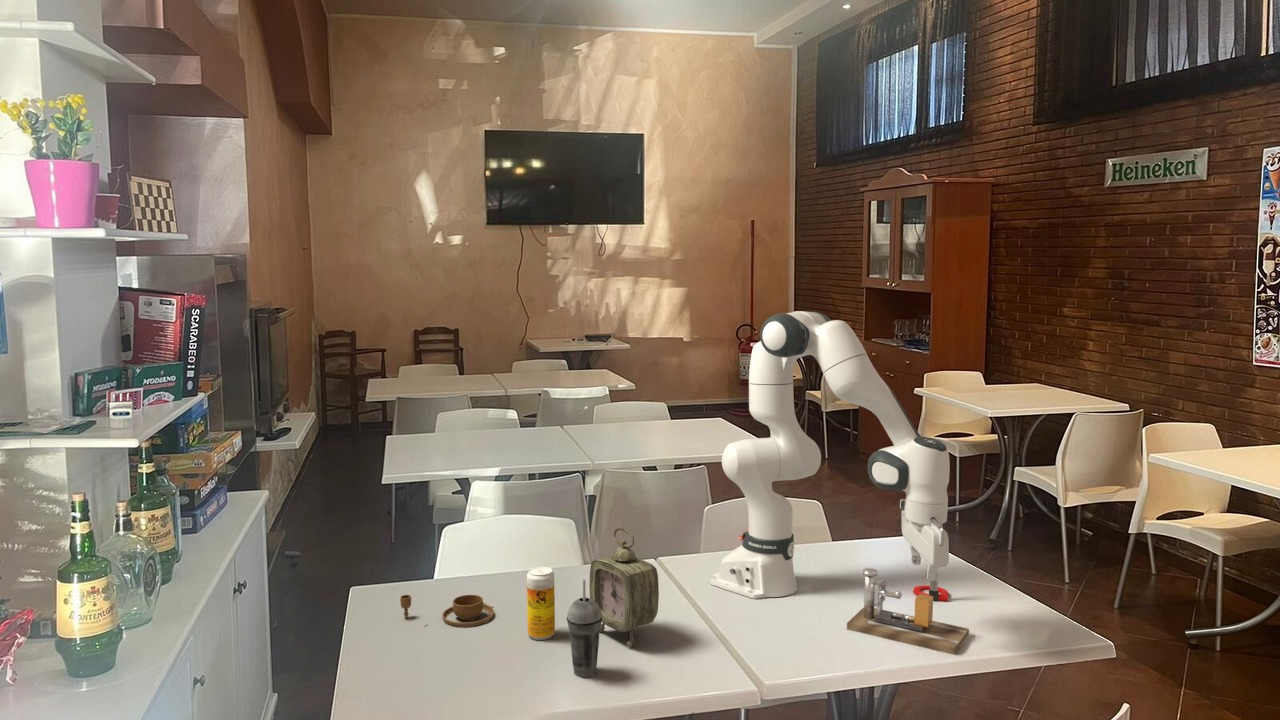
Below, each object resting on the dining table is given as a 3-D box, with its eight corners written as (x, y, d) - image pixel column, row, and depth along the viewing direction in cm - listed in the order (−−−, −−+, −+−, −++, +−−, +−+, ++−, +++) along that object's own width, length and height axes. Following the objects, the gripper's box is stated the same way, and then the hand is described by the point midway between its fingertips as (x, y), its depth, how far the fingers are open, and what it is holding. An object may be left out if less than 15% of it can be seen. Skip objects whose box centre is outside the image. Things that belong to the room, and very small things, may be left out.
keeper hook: (859, 617, 208) (861, 571, 207) (864, 613, 210) (865, 567, 209) (898, 626, 203) (899, 579, 202) (902, 621, 206) (904, 574, 204)
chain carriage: (873, 621, 205) (874, 584, 204) (880, 613, 209) (882, 577, 208) (926, 633, 198) (927, 595, 197) (933, 625, 203) (934, 587, 202)
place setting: (465, 639, 201) (464, 613, 201) (396, 622, 210) (395, 598, 210) (510, 611, 217) (509, 587, 216) (444, 597, 226) (443, 574, 225)
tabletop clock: (589, 631, 204) (589, 524, 201) (620, 621, 210) (620, 516, 207) (630, 652, 193) (630, 539, 190) (661, 641, 199) (662, 531, 196)
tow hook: (910, 588, 231) (916, 600, 222) (912, 539, 230) (918, 549, 221) (944, 590, 230) (951, 602, 221) (946, 541, 229) (953, 551, 220)
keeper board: (846, 629, 205) (847, 621, 205) (864, 611, 215) (865, 604, 215) (954, 654, 192) (955, 646, 192) (968, 635, 202) (969, 627, 202)
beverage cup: (602, 663, 188) (602, 571, 185) (602, 680, 180) (602, 584, 178) (567, 664, 187) (567, 571, 185) (566, 680, 180) (565, 584, 178)
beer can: (529, 642, 198) (528, 576, 196) (525, 631, 204) (524, 567, 202) (557, 639, 200) (556, 574, 198) (552, 628, 206) (551, 565, 204)
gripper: (958, 526, 188) (954, 589, 190) (924, 498, 208) (921, 555, 210) (928, 526, 188) (925, 589, 190) (897, 498, 208) (894, 555, 210)
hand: (922, 571), depth 200 cm, fingers open, 8 cm apart
